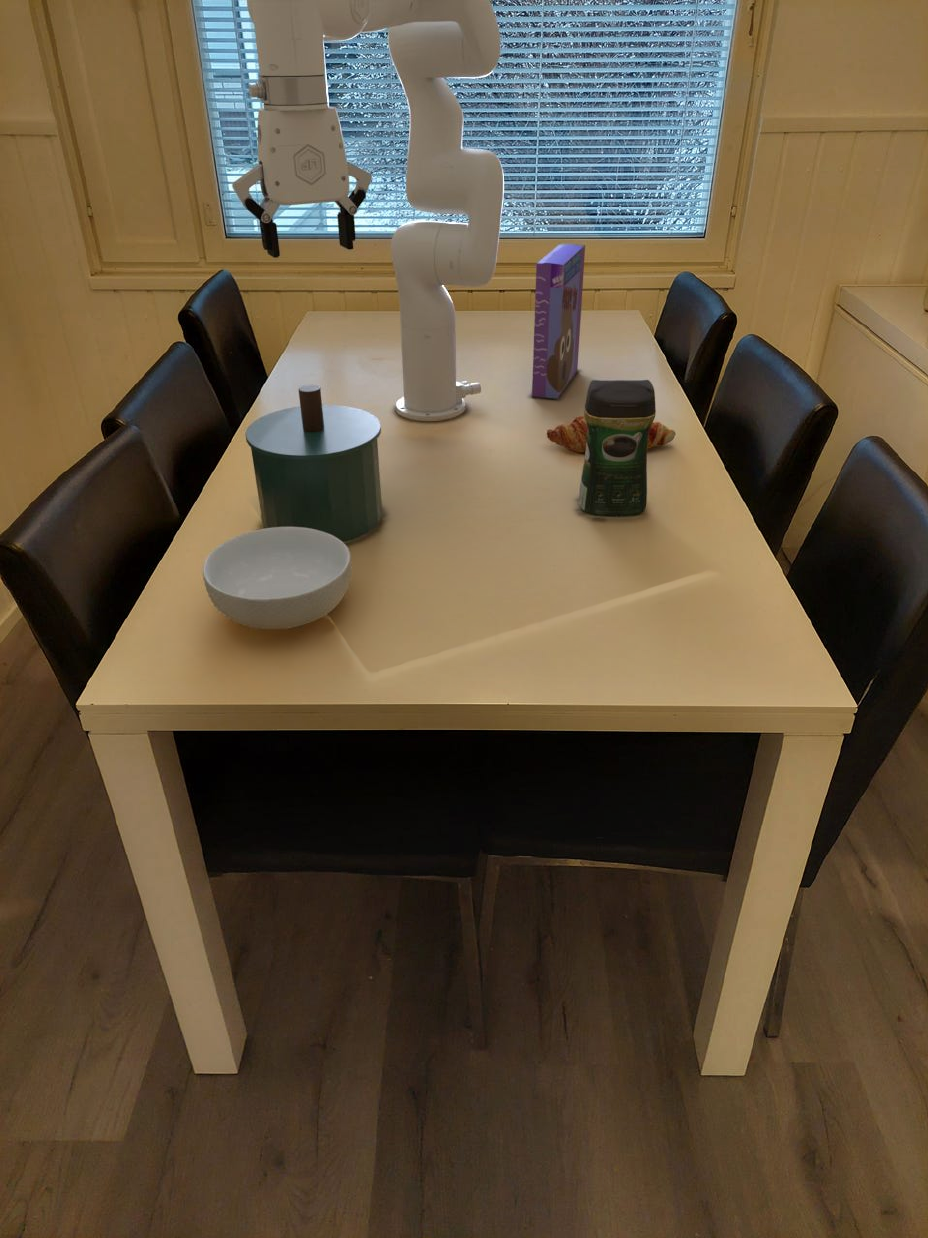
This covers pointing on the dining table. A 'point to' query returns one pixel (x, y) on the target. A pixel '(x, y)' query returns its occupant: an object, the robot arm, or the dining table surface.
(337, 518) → the tin
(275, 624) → the cereal bowl
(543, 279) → the cereal box
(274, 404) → the dining table surface
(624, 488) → the coffee jar
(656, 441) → the croissant
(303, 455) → the tin lid
